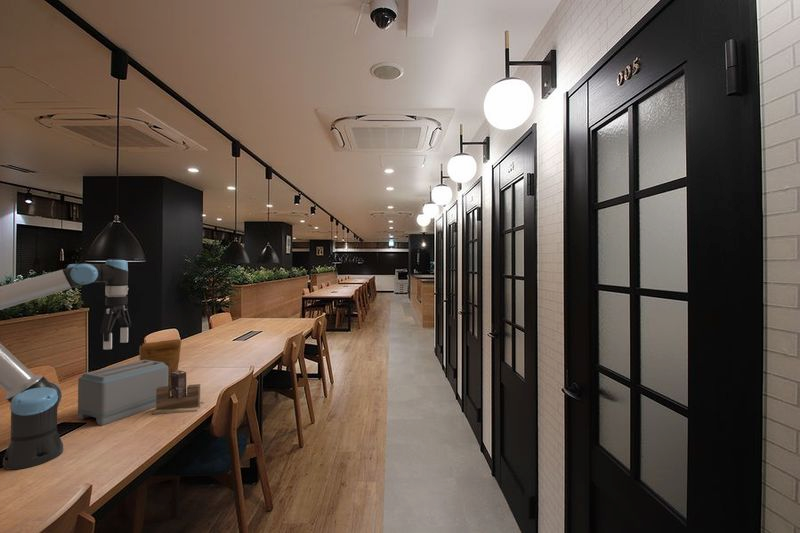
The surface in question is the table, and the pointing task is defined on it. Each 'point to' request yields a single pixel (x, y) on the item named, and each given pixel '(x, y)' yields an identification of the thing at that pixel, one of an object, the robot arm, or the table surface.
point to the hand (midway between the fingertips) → (116, 345)
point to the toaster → (120, 390)
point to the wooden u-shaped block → (177, 400)
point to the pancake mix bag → (163, 354)
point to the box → (178, 384)
